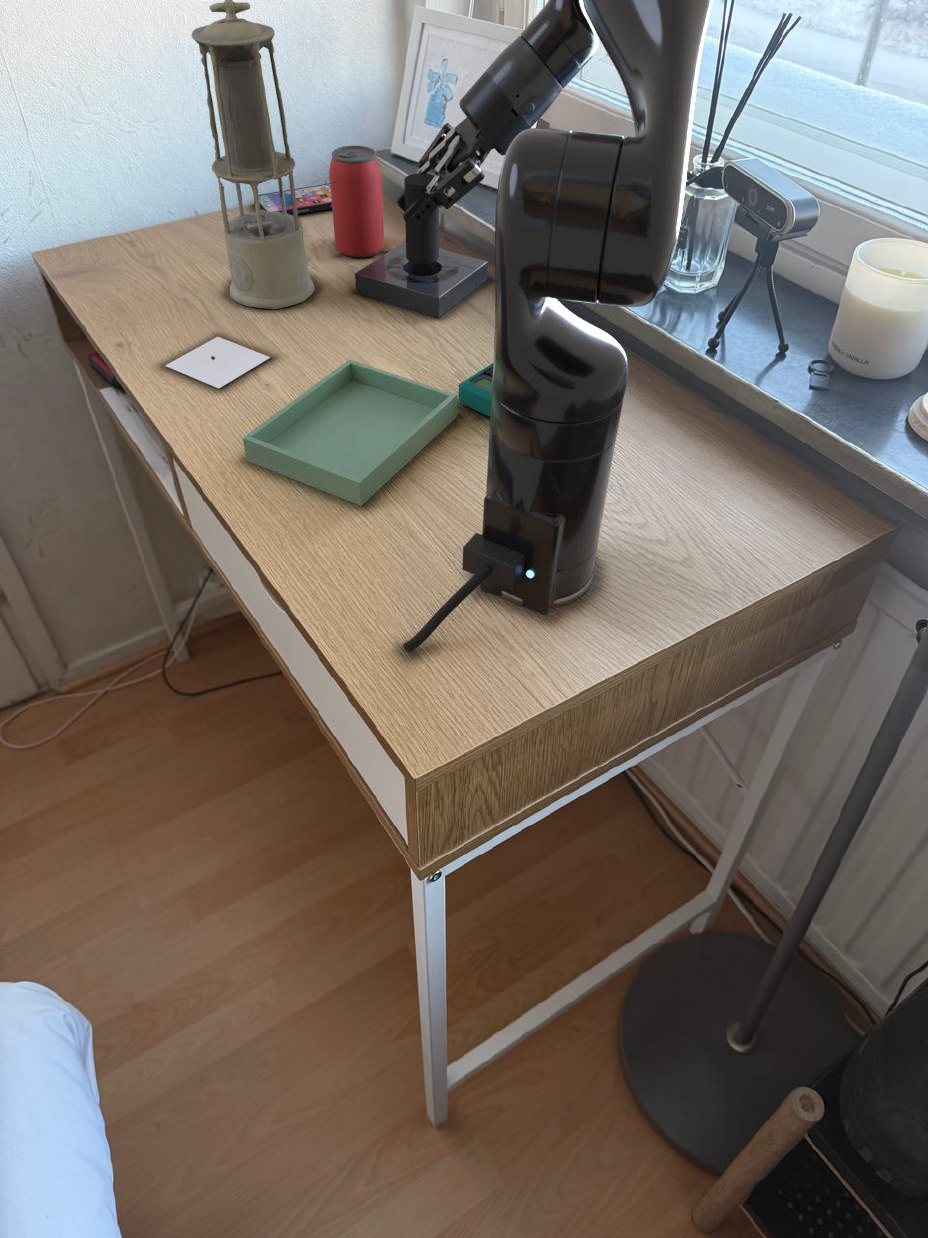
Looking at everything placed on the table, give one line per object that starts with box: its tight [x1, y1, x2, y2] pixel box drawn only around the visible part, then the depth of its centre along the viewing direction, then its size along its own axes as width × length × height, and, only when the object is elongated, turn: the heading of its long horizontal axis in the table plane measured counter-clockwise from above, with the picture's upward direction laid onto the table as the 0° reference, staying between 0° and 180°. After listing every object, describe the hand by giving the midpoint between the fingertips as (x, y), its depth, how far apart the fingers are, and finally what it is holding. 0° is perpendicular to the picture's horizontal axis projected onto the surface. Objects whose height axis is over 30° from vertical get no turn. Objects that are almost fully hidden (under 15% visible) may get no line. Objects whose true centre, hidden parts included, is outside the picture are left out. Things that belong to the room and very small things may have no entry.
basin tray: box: [242, 359, 458, 507], centre depth 85 cm, size 17×13×3 cm
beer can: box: [328, 145, 385, 258], centre depth 112 cm, size 7×7×12 cm
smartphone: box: [253, 182, 332, 216], centre depth 127 cm, size 7×1×15 cm
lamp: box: [191, 0, 316, 310], centre depth 98 cm, size 10×13×30 cm
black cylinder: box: [403, 173, 440, 264], centre depth 103 cm, size 4×4×9 cm
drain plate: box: [354, 240, 489, 319], centre depth 108 cm, size 12×12×2 cm
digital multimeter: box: [457, 362, 493, 418], centre depth 92 cm, size 7×15×3 cm, turn 142°
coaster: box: [164, 336, 271, 389], centre depth 95 cm, size 8×8×1 cm
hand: (405, 215), depth 103 cm, fingers closed on black cylinder, 4 cm apart
